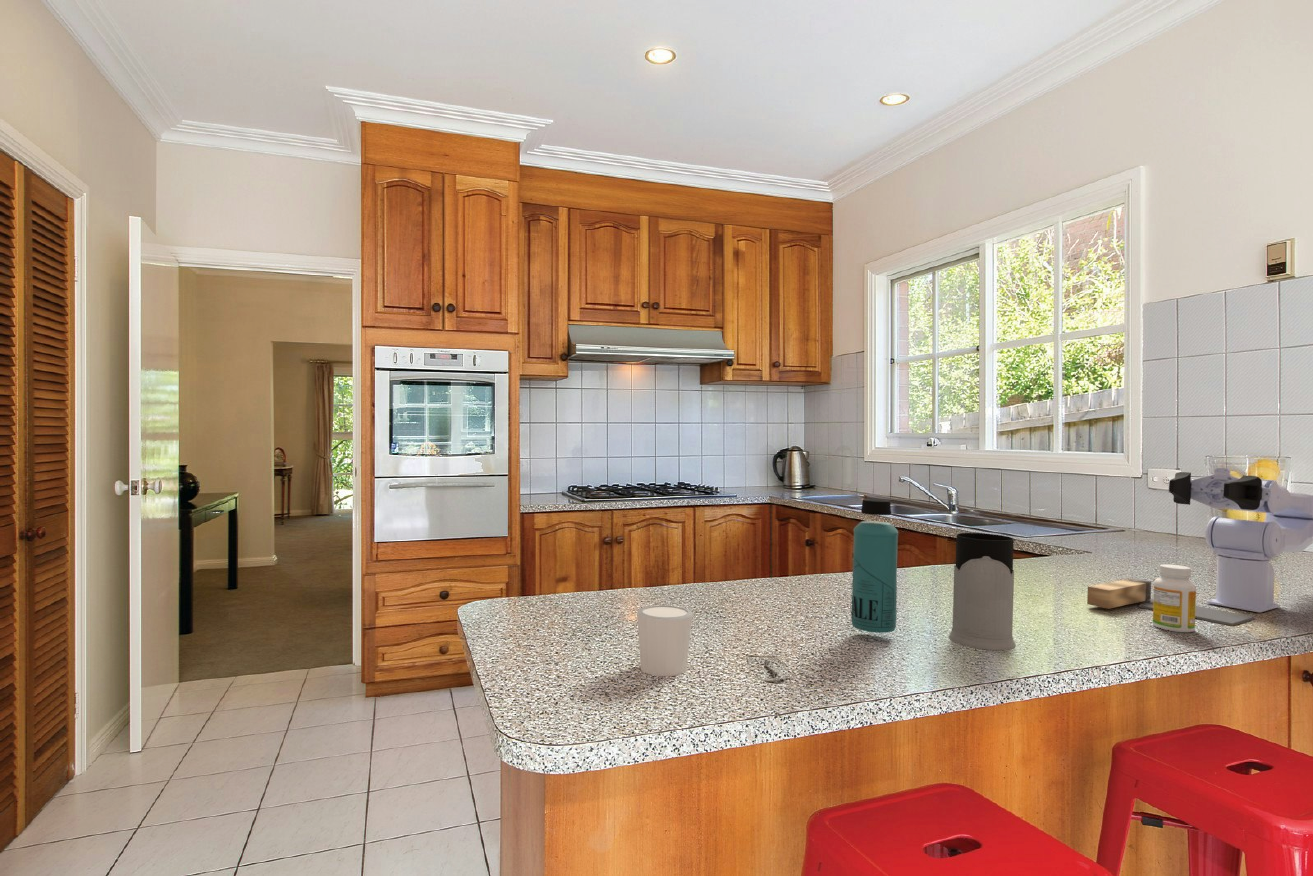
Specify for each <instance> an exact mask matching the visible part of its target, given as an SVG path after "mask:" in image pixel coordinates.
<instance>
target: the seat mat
mask: <svg viewBox="0 0 1313 876" xmlns="http://www.w3.org/2000/svg"><path fill="white" fill-rule="evenodd" d="M1138 605H1139V606H1138V607H1139V608H1140V609H1147V610H1150V609H1151V611H1153V602H1150V603H1146V604H1138ZM1195 618H1197V619H1196V620H1200V619H1201V621H1206V622H1210V623H1216V624H1221V625H1226V626H1231V627H1234V626H1236V625H1239V624H1243V623H1246V622H1249V621H1252V620H1255V619H1256V618H1255V616H1252V615H1248V614H1241V613H1237V612H1233V611H1232V612H1231V611H1226V610H1220V609H1215V608H1211V607H1210V608H1209V607H1204V606H1199V605H1195Z"/></svg>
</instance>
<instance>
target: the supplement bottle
mask: <svg viewBox="0 0 1313 876" xmlns="http://www.w3.org/2000/svg"><path fill="white" fill-rule="evenodd" d="M1158 572H1159V575H1160V577H1157V578H1155V579H1154V582H1153V595H1152V596H1153V598H1152V599H1153V610H1152V625H1153V626H1154V627H1155V628H1157V627H1158V628H1157V629H1160V628H1161V629H1160V630H1165V631H1168V630H1169V631H1170V632H1175V633H1192V632H1194V631H1195V629H1196V619H1195V606H1197V605H1196V603H1197V602H1196V601H1197V599H1196V597H1197V586H1196V584H1195V583H1194V582H1192V581H1190V578H1191V576H1192V568H1191V567H1190V566H1185V565H1178V564H1168V563H1167V564H1160V565H1159V571H1158Z"/></svg>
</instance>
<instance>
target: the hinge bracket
mask: <svg viewBox="0 0 1313 876" xmlns="http://www.w3.org/2000/svg"><path fill="white" fill-rule="evenodd" d="M1150 602H1153V598H1151V599H1150V600H1145V601H1141V602H1137V603H1136V604H1138V605H1141V604H1146V603H1150Z"/></svg>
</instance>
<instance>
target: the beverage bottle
mask: <svg viewBox="0 0 1313 876" xmlns="http://www.w3.org/2000/svg"><path fill="white" fill-rule="evenodd" d="M891 505H892V504H891V500H888V499H882V498H865V499H863V500H862V502H861V511H860V512H861V514H864V515H873V516H891V515H892V508H891V507H892V506H891ZM898 538H899V530H898V529H897V528H896V527H895V526H894V525H893V524H892V523H891V522H885V521H878V520H877V521H876V520H875V521H873V520H866V521H863V520H862V521H860V522H859V523H858V524H857V525H856V526H855V527H854V528H853V546H852V548H853V550H852V553H851V557H852V562H851V571H852V582H851V587H850V588H851V594H850V598H851V611H850V621H851V626H852V627H853V628H855V629H857V630H860V631H864V632H868V633H880V634H882V633H883V634H886V633H891V632H894V631H895V630H896V627H897V621H898V618H897V617H898V616H897V615H898V589H899V588H898V582H897V579H898V578H897V576H898V574H897V572H898Z"/></svg>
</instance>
